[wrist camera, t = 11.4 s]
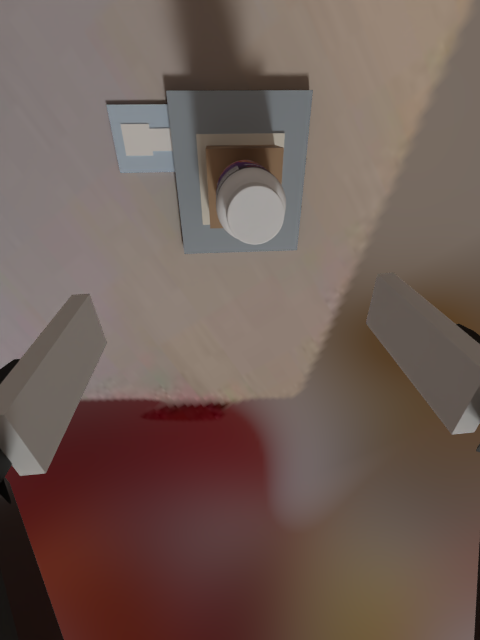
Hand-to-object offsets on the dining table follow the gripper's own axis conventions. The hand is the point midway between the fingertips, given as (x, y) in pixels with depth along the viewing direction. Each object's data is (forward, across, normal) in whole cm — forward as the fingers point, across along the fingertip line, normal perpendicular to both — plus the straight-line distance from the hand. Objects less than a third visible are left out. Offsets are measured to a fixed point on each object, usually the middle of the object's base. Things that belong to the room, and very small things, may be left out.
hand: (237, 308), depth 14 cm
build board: (+25, +2, +2) cm, 25 cm away
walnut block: (+24, +2, +2) cm, 24 cm away
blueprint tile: (+25, -7, +6) cm, 27 cm away
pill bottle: (+19, +2, +2) cm, 19 cm away
